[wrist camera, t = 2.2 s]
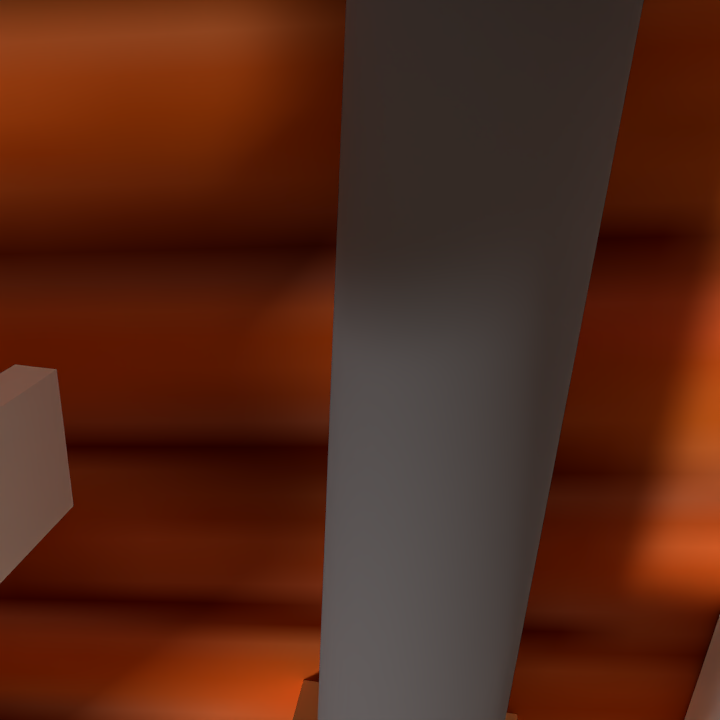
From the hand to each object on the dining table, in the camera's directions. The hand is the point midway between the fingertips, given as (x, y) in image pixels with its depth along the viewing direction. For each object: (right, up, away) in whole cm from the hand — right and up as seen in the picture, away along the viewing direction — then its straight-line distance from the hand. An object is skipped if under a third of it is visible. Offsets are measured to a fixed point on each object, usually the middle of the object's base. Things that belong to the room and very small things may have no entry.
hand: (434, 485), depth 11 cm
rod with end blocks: (0, +1, +2) cm, 2 cm away
